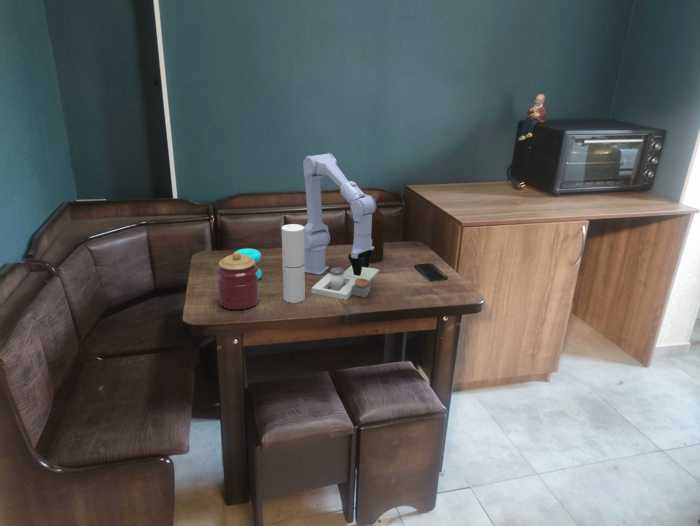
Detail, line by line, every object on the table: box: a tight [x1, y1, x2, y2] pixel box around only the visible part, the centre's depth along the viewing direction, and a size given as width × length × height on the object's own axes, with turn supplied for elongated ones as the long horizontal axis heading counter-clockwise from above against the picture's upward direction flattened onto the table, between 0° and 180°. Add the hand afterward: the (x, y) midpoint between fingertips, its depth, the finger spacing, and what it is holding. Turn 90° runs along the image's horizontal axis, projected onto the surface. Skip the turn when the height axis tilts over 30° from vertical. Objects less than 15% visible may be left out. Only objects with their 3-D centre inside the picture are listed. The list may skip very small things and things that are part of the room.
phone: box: [413, 262, 449, 283], centre depth 201 cm, size 8×1×15 cm
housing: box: [310, 272, 371, 301], centre depth 184 cm, size 18×14×3 cm
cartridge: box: [329, 266, 345, 291], centre depth 184 cm, size 5×5×7 cm
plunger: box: [355, 279, 369, 288], centre depth 182 cm, size 4×4×4 cm
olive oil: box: [360, 196, 387, 264], centre depth 208 cm, size 11×11×25 cm
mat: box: [344, 265, 380, 284], centre depth 197 cm, size 11×11×1 cm
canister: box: [216, 251, 260, 310], centre depth 171 cm, size 13×13×18 cm
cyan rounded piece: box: [235, 248, 263, 280], centre depth 191 cm, size 10×10×10 cm
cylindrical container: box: [281, 223, 306, 304], centre depth 173 cm, size 7×7×25 cm
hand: (361, 271), depth 180 cm, fingers open, 7 cm apart
